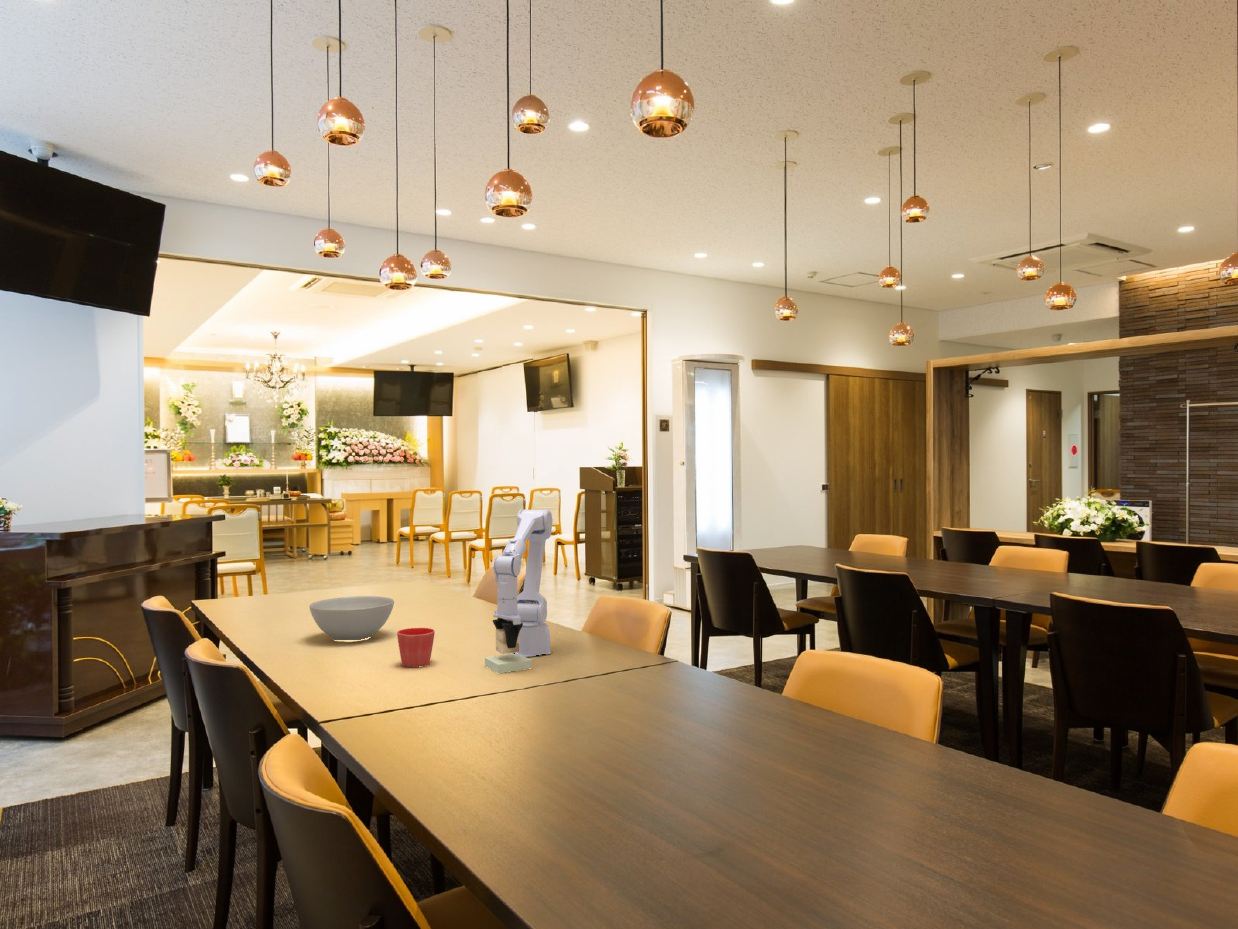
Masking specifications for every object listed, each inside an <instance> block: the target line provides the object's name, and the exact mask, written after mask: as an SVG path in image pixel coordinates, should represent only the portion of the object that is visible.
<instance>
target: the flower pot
mask: <svg viewBox="0 0 1238 929" xmlns="http://www.w3.org/2000/svg"><path fill="white" fill-rule="evenodd" d="M396 635H397V643H398V649H399V650H398V651H399V654H400V655H399V656H400V660H401V666H403V667H405V666H407V667H406V668H420V667H419V666H423V667H426V666H425V665H427V664H429V665H430V662H431V657H432V652H433V646H434V640H435V629H434V628H430V627H429V628H428V627H409V628H404V629H400V630H398V631H396ZM427 666H428V665H427Z"/></svg>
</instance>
